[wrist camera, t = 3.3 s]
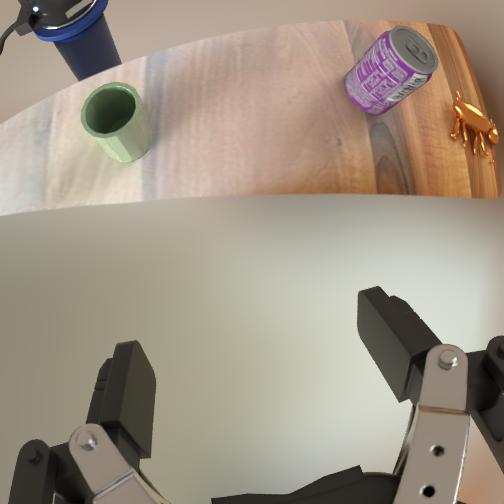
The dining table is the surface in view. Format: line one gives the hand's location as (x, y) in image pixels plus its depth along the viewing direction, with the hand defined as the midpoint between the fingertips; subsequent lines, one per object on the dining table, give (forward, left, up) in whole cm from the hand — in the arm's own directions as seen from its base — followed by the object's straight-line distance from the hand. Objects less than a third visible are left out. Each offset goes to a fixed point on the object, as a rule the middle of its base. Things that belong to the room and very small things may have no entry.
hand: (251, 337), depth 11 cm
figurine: (+41, +11, -22) cm, 48 cm away
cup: (-8, +17, -23) cm, 30 cm away
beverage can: (+22, +21, -23) cm, 38 cm away
